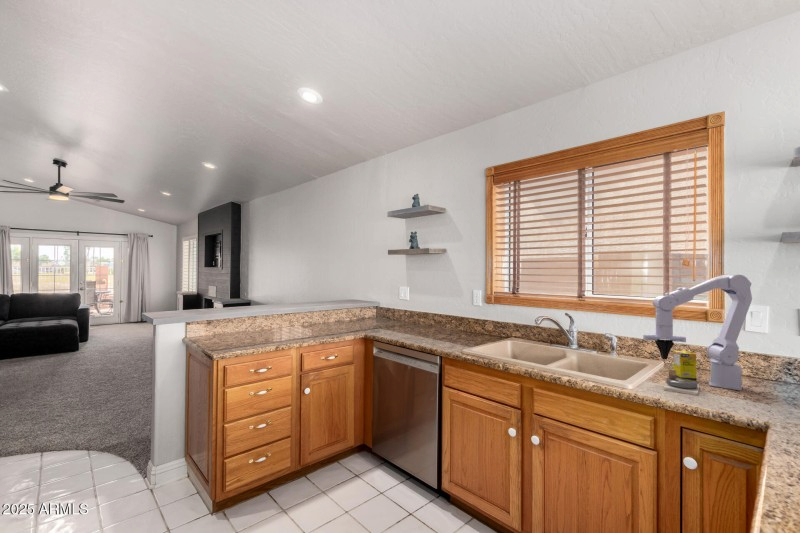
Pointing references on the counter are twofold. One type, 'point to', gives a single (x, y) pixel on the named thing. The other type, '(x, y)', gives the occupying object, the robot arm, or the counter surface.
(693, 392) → the base board
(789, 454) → the counter surface
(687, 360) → the supplement box
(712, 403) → the counter surface
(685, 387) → the crank wheel
